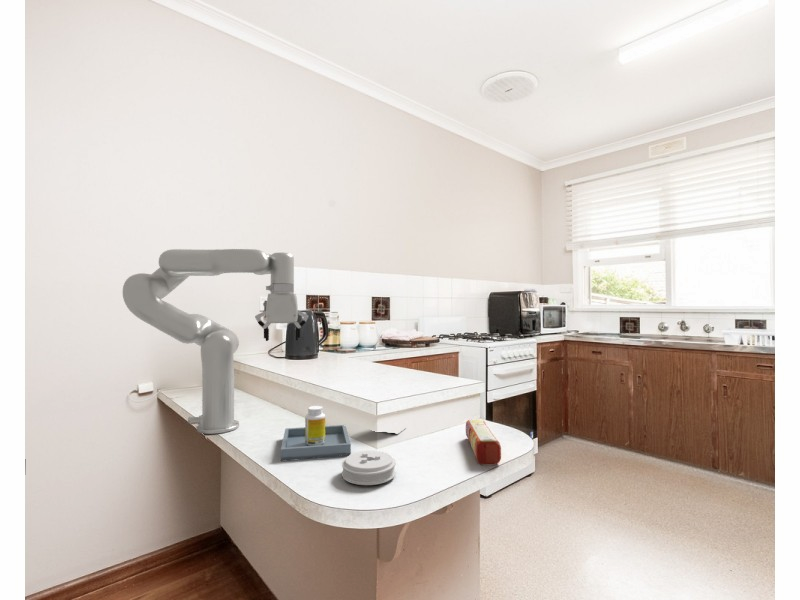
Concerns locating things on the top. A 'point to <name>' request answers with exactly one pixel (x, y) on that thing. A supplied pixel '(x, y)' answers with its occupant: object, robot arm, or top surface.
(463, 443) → the top surface
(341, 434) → the tray
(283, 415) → the top surface
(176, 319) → the robot arm
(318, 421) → the supplement bottle
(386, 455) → the lid
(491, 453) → the snack package
